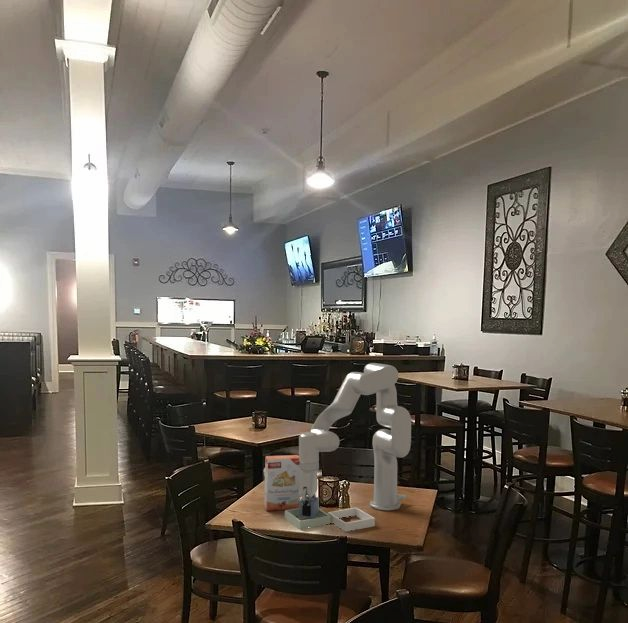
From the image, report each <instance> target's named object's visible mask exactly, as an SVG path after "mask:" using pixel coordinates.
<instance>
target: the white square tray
mask: <svg viewBox="0 0 628 623" xmlns="http://www.w3.org/2000/svg"><path fill="white" fill-rule="evenodd" d="M327 514H328V515H330V516H331V522H332V523H331V524H333V523H334V524H335V525H334V524H333V525H334V526H336V527H337V526H338V527H337V528H339V529H340V528H341V529H340V530H342V531H343V532H346V533H347V532H351V530H352V531H357V530H362V529H367V528H372V527H375V526H376V524H375V523H376V518H375V517H374V516H372V515H370V514H368V513H367V512H366V511H363V510H361V509H359V507H350V508H345V509H339V510H333V511H327ZM355 515H356V516H355ZM349 516H351V517H357V518H359V520H354V521H348V522H345V521H344V520H342V519H343V518H342V517H346V518H350V517H349ZM339 518H340V519H339ZM356 529H357V530H356Z"/></svg>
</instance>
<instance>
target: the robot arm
mask: <svg viewBox="0 0 628 623" xmlns="http://www.w3.org/2000/svg"><path fill="white" fill-rule="evenodd" d="M363 368H364V369H363V372H359V371H351V372H350V373H347V375H346V376H345V378H344V380H343V381H342V384H341V386H340V387H339V390H338V391H337V393H336V395H335V397H334V399H333V401H332V402H331V403H330V405H328V406H327V407H326V408H325V409H324V410H323V411H322V412H321V413H320V414H319V415H318V416H317V418H316V419H315V421H314V423H313V425H312V426H311V429H310V432H303V433H300V435H299V436H298V453H299V454H298V456H299V470H300V478H299V497H300V500H302V515H303V516H311V505H310V498H311V497H317V491H318V484H319V483H318V482H319V481H318V471H319V468H320V463H319V461H320V458H319V457H320V456H319V454H320V453H321V452H322V453H323V452H328V453H329V452H334V451H335V450H337V449H338V448H339V446H340V438H339V436H338V435H337V434H336V433H334V432H333V431H330V428H331V427H332V425H333V424H334V423H335V422H337V421H338V420H340V419H342V418H345V417H347V416H350V415H351V414H352V412H353V410H354V409H355V407H356V406H357V405H356V404H357V402H358V401H359V398H360V397H361V395H363V396H369V395H373V394H376V395H375V396H376V415H375V417H376V422H377V423H378V425H380V426H382V427H386V428H389V429H386V428H381V429H378V430H377V431H375V433H374V434H373V436H372V443H371V444H372V448H373V455H374V456H373V457H374V462H373V463H374V468H373V472H374V474H373V499H371V500H370V501H369V505H370V507H372V509H376V510H380V511H395V510H396V511H397V510H399V509H400V508H401V502H400V501H402V500H406V499H407V495H406V494H400V493H398V459H397V458H405V457H406V456H407V455H408V454H409V452H410V450H411V443H412V418H411V414H410V412H409V410H407V408H405V407H404V406H399V405H398V398H397V396H398V395H397V388H396V385H395V384H396V383H397V381H398V379H399V371H398V370H397V368H396V367H395V366H393V365H390V364H385V363H378V362H377V363H376V362H370V363H368V364H366V365H365V366H364V367H363ZM306 496H309V497H306ZM306 499H308V501H307V500H306Z"/></svg>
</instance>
